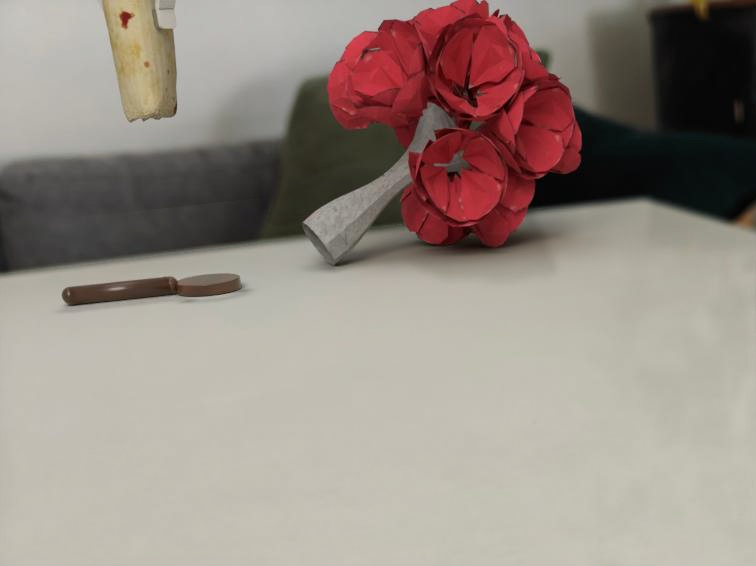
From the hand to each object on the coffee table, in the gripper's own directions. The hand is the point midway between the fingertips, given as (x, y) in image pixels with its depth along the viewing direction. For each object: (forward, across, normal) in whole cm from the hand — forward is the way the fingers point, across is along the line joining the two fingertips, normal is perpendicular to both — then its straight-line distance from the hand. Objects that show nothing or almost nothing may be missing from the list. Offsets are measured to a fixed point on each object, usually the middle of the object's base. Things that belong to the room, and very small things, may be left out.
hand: (142, 31), depth 118 cm
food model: (+9, 0, 0) cm, 9 cm away
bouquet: (+22, +28, +15) cm, 39 cm away
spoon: (+22, +21, -16) cm, 34 cm away
